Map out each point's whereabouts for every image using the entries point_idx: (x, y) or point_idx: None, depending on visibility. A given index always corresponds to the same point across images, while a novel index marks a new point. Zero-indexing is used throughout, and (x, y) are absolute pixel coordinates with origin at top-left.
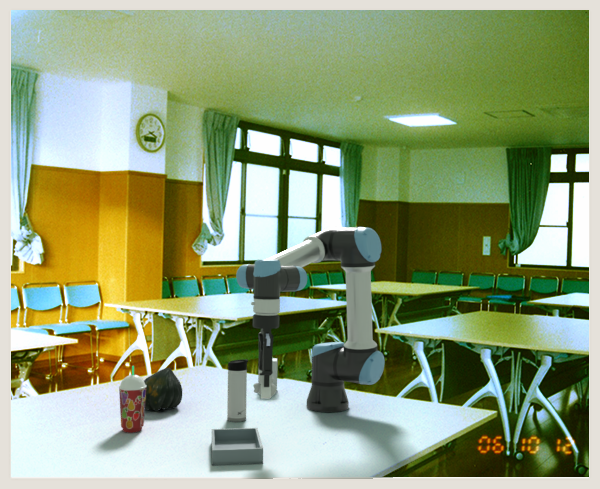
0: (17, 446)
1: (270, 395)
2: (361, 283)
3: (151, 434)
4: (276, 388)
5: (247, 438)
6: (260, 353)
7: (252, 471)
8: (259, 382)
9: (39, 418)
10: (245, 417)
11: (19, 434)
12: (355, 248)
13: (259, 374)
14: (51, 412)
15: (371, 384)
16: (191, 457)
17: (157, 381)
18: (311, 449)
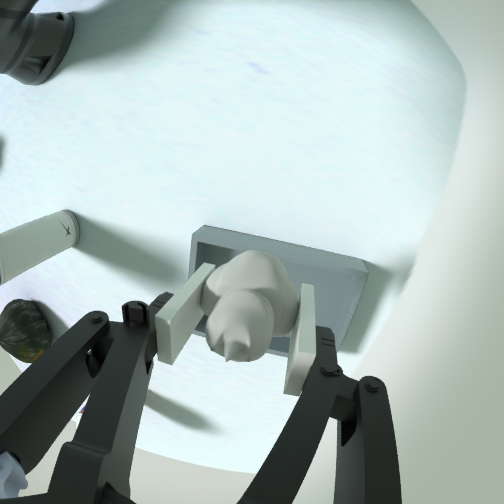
0: (183, 460)
1: (313, 292)
2: None
3: None
4: (269, 258)
5: (203, 251)
6: (132, 449)
7: (392, 290)
8: (194, 326)
9: None
10: (68, 213)
11: (146, 450)
12: None
13: (178, 351)
14: (78, 410)
15: None
16: (272, 364)
17: (24, 355)
18: (301, 114)
